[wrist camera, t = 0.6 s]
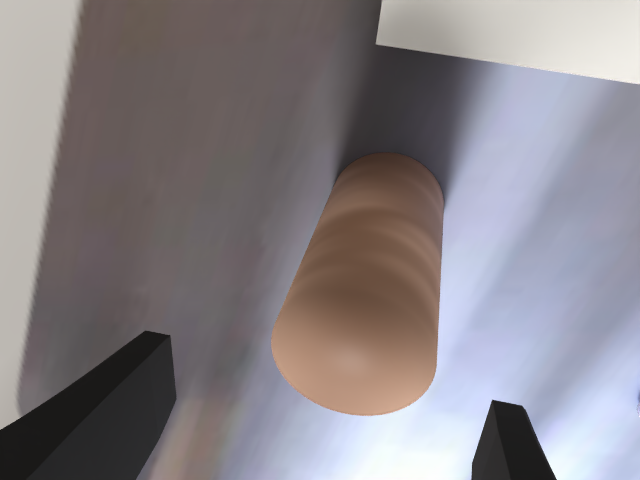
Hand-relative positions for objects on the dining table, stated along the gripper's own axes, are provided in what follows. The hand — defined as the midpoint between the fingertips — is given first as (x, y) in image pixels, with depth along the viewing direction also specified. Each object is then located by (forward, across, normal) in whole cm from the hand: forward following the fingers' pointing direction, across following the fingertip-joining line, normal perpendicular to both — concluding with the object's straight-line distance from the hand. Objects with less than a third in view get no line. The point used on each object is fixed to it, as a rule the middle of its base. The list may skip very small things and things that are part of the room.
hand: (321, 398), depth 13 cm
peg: (+9, 0, 0) cm, 9 cm away
